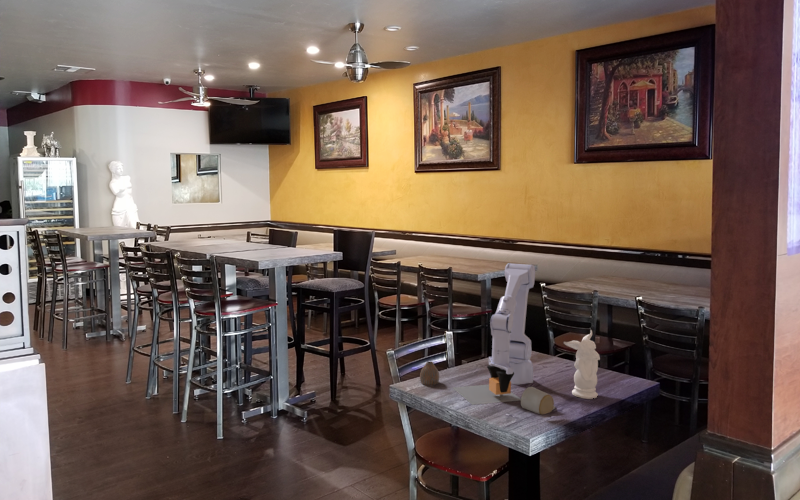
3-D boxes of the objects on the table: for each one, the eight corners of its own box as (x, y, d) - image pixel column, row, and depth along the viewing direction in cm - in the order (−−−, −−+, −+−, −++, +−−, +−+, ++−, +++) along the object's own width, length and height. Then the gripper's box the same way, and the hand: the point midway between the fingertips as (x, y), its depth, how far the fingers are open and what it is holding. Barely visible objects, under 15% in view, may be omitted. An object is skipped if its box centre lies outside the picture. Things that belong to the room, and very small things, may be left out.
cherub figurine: (592, 402, 207) (595, 338, 204) (556, 395, 214) (558, 333, 211) (602, 391, 217) (604, 330, 215) (567, 385, 224) (569, 326, 221)
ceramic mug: (540, 419, 190) (541, 395, 190) (519, 412, 197) (520, 388, 196) (561, 412, 197) (562, 389, 196) (540, 405, 203) (542, 382, 203)
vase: (437, 390, 218) (438, 365, 217) (418, 388, 219) (418, 364, 218) (440, 384, 224) (440, 360, 224) (421, 382, 226) (421, 359, 225)
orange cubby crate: (489, 389, 209) (489, 377, 209) (503, 388, 211) (503, 376, 210) (495, 394, 204) (496, 382, 204) (510, 393, 205) (511, 381, 205)
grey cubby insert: (499, 395, 209) (500, 382, 208) (502, 397, 207) (503, 384, 206) (496, 395, 208) (496, 382, 208) (499, 397, 206) (499, 384, 206)
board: (499, 386, 222) (499, 383, 222) (522, 403, 205) (522, 400, 204) (452, 390, 217) (452, 387, 217) (472, 408, 199) (472, 404, 199)
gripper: (480, 344, 212) (480, 383, 213) (499, 355, 198) (498, 397, 199) (499, 343, 214) (498, 381, 215) (519, 354, 200) (518, 395, 201)
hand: (499, 389), depth 207 cm, fingers closed on orange cubby crate, 5 cm apart
